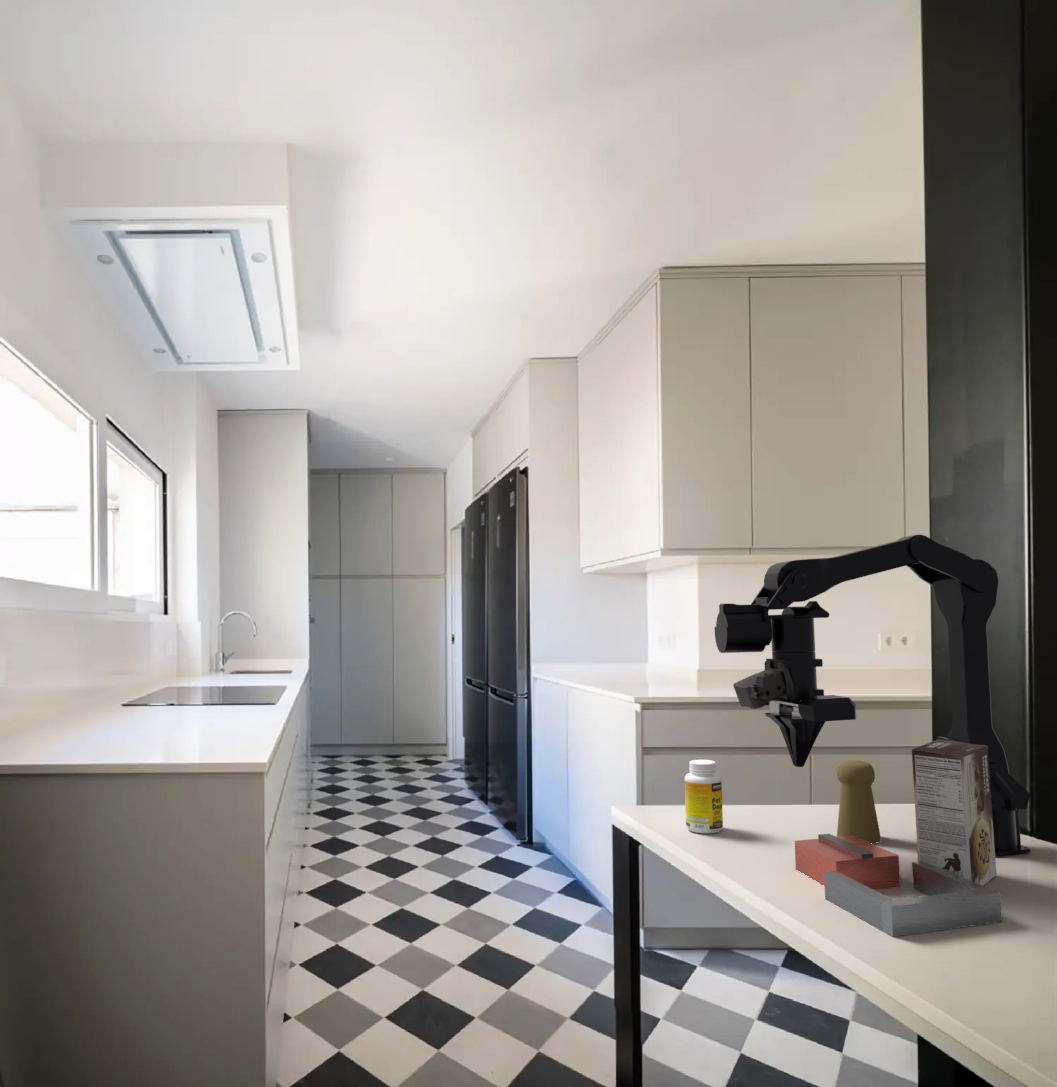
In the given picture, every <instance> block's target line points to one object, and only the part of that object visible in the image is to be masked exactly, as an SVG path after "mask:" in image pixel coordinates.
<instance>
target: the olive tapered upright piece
mask: <svg viewBox="0 0 1057 1087" xmlns="http://www.w3.org/2000/svg"><path fill="white" fill-rule="evenodd" d="M836 767H837V768H836V777H837V780H838V782H839V783H840V785H841V786H840V796H839V808H838V809H839V810H838V819H837V828H836V829H837V830H836V837H842V836H852V835H853V836H855V837H858V838H860V839H862V840H864V841H867V842H869V843H876V842H879V843H881V842H882V836H881V831H880V825H879V820H878V815H877V810H876V804H875V799H874V793H873V789H872V785H873V783H874V782H875V777H876V774H875V769H874V767H873V765H872V764H871V763H870V762H866V761H862V760H855V759H849V760H844V761H840V762H839V763H838V765H837V766H836ZM880 841H881V842H880ZM876 844H877V843H876Z"/></svg>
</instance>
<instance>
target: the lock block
mask: <svg viewBox="0 0 1057 1087" xmlns="http://www.w3.org/2000/svg"><path fill="white" fill-rule="evenodd" d="M817 836H818V838H811V839H801V840H800V839H799V840H794V856H795V857H794V858H795V860H794V861H795V871H796V870H798V871H800V872H801V873H804V874H805V875H807V876H809V877H808V878H809V879H810V878H812V879H813V880H812V879H811V880H812V881H814V880H816V881H817V882H819V883H820V885H821V886H823V885H824V886H823V887H825V883H824V872H828V871H837V872H839V873H841V874H843V875H845V876H847V877H849V878H851V879H853V880H855V881H857V882H859V883H861V884H863V885H865V886H867V887H869V888H871V889H873V890H875V891H877V890H883V889H886V890H887V889H892V888H894V887H895V888H901V876H900V875H901V874H900V873H901V872H900V861H899V860H900V857H899V854H897V853H894V852H892V851H890V850H887V849H885V848H883V847H880V846H878V845H876V844H871V843H869V842H867V841H864V840H862V839H860V838H858V837H855V836H853V835H852V836H842V837H837V835H833V834H831V833H824V834H821V833H820V834H817ZM798 871H797V872H798ZM800 872H799V873H800ZM801 873H800V874H801ZM805 875H804V876H805ZM807 876H806V877H807ZM816 881H815V882H816ZM817 882H816V883H817ZM819 883H818V884H819Z"/></svg>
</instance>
